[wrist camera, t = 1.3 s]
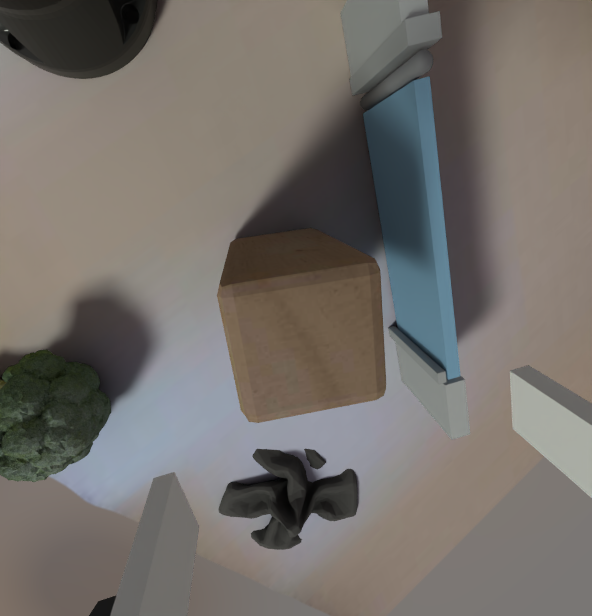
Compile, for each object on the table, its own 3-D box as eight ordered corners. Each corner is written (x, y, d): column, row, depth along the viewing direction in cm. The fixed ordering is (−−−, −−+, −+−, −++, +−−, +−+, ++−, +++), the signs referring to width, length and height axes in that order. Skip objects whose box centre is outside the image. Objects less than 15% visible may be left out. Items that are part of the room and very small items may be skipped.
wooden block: (318, 225, 40) (385, 256, 21) (326, 310, 43) (392, 403, 24) (227, 238, 39) (212, 283, 20) (243, 324, 42) (243, 432, 23)
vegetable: (-35, 316, 35) (84, 357, 32) (58, 357, 47) (154, 391, 43) (-131, 440, 31) (-5, 506, 27) (-2, 452, 42) (100, 499, 38)
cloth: (380, 492, 54) (396, 528, 48) (284, 562, 55) (289, 606, 49) (286, 397, 46) (292, 427, 41) (180, 482, 48) (171, 521, 42)
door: (359, 96, 36) (412, 52, 24) (390, 88, 36) (457, 40, 25) (397, 334, 45) (450, 382, 33) (422, 327, 45) (483, 372, 33)
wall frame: (334, 14, 34) (386, -88, 21) (362, 7, 34) (430, -98, 22) (397, 381, 47) (451, 448, 35) (417, 375, 47) (478, 439, 35)
